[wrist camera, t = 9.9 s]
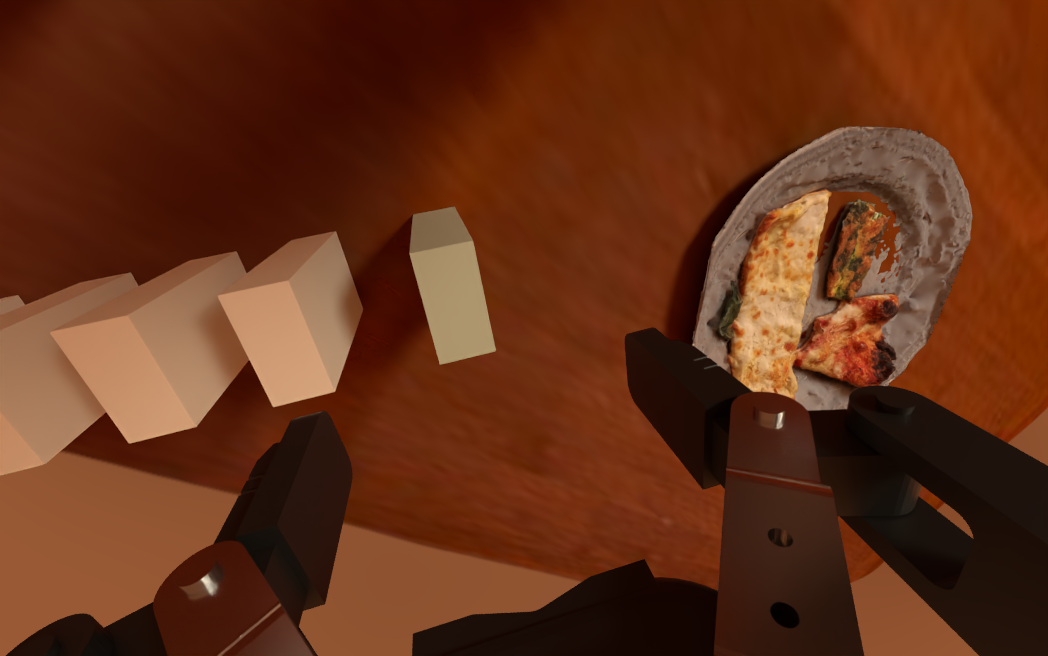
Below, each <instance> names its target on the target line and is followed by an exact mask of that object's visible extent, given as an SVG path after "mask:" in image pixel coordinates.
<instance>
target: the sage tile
mask: <svg viewBox="0 0 1048 656" xmlns="http://www.w3.org/2000/svg"><path fill="white" fill-rule="evenodd" d="M409 254H410V258H411V261H412V265H413V269H414V272H415V276H416V280H417V283H418V287H419V290H420V294H421V298H422V301H423V305H424V309H425V312H426V316H427V319H428V323H429V327H430V330H431V334H432V338H433V341H434V345H435V348H436V352H437V356H438V359H439V363H440V365H441V364H445V363H449V362H453V361H457V360H461V359H465V358H469V357H473V356H478V355H482V354H486V353H490V352H494V351H496V350H495V345H494V340H493V335H492V330H491V325H490V321H489V316H488V311H487V306H486V301H485V296H484V292H483V287H482V282H481V277H480V272H479V268H478V263H477V258H476V253H475V248H474V243H473V240H472V238H471V236H470V234H469V233H468V231H467V229H466V227H465V225H464V223H463V222H462V220H461V218H460V216H459V214H458V212H457V211H456V209H455V207H450V208H445V209H440V210H435V211H429V212H424V213H419V214H414V215H413V220H412V231H411V242H410V252H409Z"/></svg>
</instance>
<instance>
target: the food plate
mask: <svg viewBox="0 0 1048 656" xmlns="http://www.w3.org/2000/svg"><path fill="white" fill-rule="evenodd" d="M916 131H917V130H916ZM916 131H914V132H913V131H912V130H911V131H910V129H908V130H905V129H903V128H882V127H860V128H859V127H852V126H849V127H845V128H839V129H837V130H834V131H832V132H829V133H828V134H826V135H825V136H823V137H819V138H818V139H816V140H814V141H813V142H811V143H812V144H811V145H810V144H808V145H805V146H804V147H803V148H800V149H798V151H797V152H795V153H792V154H791V155H789V156H788V157H786V159H783V160H782V161H780V162H778V164H776V167H772V169H770V170H771V171H769V172H767V173H765V176H764V177H762V178H760V179H759V180H758V183H757V182H756V184H755V185H754V187H752V188H751V189H750V191H748V193H747V194H746V195H745V197H744V198H742V200H741V201H740V203H739V205H737V206H736V208H735V209H734V210H735V211H733V212H732V215H730V216H729V218H728V219H727V221H726V223H725V225H724V226H723V228H722V229H721V231H720V232H719V233H718V235H717V236H716V237H715V238H714V241H715V242H712V243H713V244H712V248H711V252H712V253H711V254H710V259H709V261H708V267H707V273H706V278H705V283H704V287H703V291H702V292H701V299H700V303H699V308H698V314H697V322H696V325H695V331H694V335H693V343H692V345H693V346H695V347H696V348H697V349H699V350H700V351H701V352H703V353H704V354H705V355H706V356H707V358H710V359H712V360H713V361H714V362H716V363H717V365H718V366H721V367H722V368H723V369H725V370H726V371H727V372H728V373H730V374H731V375H732V376H734V377H735V378H736V379H737V380H739V381H740V382H741V383H743V384H744V385H745V386H746V387H748V388H749V389H750V390H752V391H753V392H772V393H777V394H781V395H784V396H787V397H789V398H792V399H794V400H796V401H797V402H799V403H800V404H801V405H803V406H804V407H805V408H806V410H834V409H847V405H848V400H849V396H850V394H851V393H852V392H853V391H854V390H856V389H858V388H861V387H865V386H874V385H880V386H889V384H890V382H891V381H892V380H893V379H895V378H896V377H897V376H899V375H900V374H901V373H903V372H904V370H905V369H906V368H907V365H908V363H909V362H910V360H911V359H912V358H913V357H914V355H915V354H916V353H917V352H918V351H919V350H920V349H921V348H922V347H924V345H925V344H926V343H927V341H928V339H929V337H930V335H932V334H930V332H933V329H934V324H936V323H937V320H938V319H937V318H939V314H940V313H941V312H942V308H943V307H944V306H943V305H944V304H945V302H944V301H945V300H946V298H948V295H949V293H950V291H951V287H952V286H951V284H953V283H954V277H956V275H957V273H958V271H959V270H958V268H959V266H960V264H961V261H963V260H962V259H963V258H964V256H965V255H964V256H963V258H962V257H961V256H962V255H963V253H965V252H966V249H967V247H966V246H968V244H969V242H970V229H971V228H972V227H971V219H972V218H973V216H972V209H971V205H970V201H969V197H970V196H969V193H968V191H967V189H966V188H965V186H964V184H963V180H962V177H961V176H960V174H959V172H958V168H957V165H956V164H955V162H954V160H953V158H952V157H951V156H949V155H948V153H949V152H948V149H944V148H945V147H943V146H942V145H941V146H940V144H939V143H938V142H936V141H935V140H933V139H932V138H928V137H927V136H926V135H924V134H923V133H921V132H922V131H918V132H916ZM832 191H843V192H844V191H849V192H852V191H855V192H856V191H857V192H864V191H865V192H871V193H872V194H873V195H875V196H878V197H880V198H881V201H882V202H886V203H888V206H887V209H889V211H894V212H895V215H896V221H897V222H896V224H894V227H895V226H900V232H899V233H898V234H897V236H896V239H895V240H897V241H894V243H895V245H896V251H897V250H898V249H900V246H901V245H902V250H901V251H899V252H898V253H897V254H894V257H895V258H896V255H898V254H899V263H898V264H897V263H896V260H894V264H892V266H891V267H892V268H891V271H890V272H889V273H888V271H886V272H884V273H880V274H879V275H878V274H877V273H878V272H879V268H880V266H881V265H880V264H881V262H882V261H883V260H885V259H886V257H887V255H888V251H889V248H887V250H886V251H885V252H883V249H882V248H881V251H882V254H880V255H879V259H878V260H876V257H875V256H874V255H875V247H876V246H877V244H878V243H879V240H880V239H881V238H882V236H883V232H884V231H885V229H886V226H887V219H889V218H890V217H888V218H886V216H885V215H883V214H881V213H877V212H875V208H874V206H875V204H871V203H868V202H867V203H866V202H862V201H860V200H856V201H855V202H849V203H848V204H846V205H845V209H844V211H843V212H842V213H841V217H840V219H839V221H838V223H837V226H836V230H835V233H834V235H833V237H832V238H831V240H830V242H829V244H828V243H827V242H825V243H824V245H825V246H826V245H827V247H828V248H827V249H825V250H824V251H823V254H824V253H825V255H823V256H821V260H820V261H819V262H817V263H816V264H814V263H815V262H816V261H817V259H818V258H817V249H818V243H819V238H820V233H821V232H822V230H823V224H824V221H825V215H826V213H827V209H828V206H827V203H828V198H829V197H830V195H831V192H832ZM887 230H888V229H887ZM890 240H891V239H890ZM881 242H883V240H882V241H881ZM884 246H885V244H884ZM965 248H966V249H965ZM825 264H826V265H825ZM896 265H897V266H896ZM899 266H901V269H900V271H899V270H898V267H899ZM895 267H896V271H895V272H894V270H895ZM898 271H899V274H898V276H897V277H896V276H895V274H896V273H897V272H898ZM892 272H893V273H892ZM886 273H888V274H886ZM885 274H886V275H885ZM891 274H892V277H891V278H889V279H887V278H888V277H889V276H890V275H891ZM884 276H885V280H886V281H885V282H884V283H880V282H881V279H882V278H884ZM876 279H877V281H876ZM897 280H898V281H897ZM896 281H897V282H896ZM892 282H894V283H893V284H892ZM888 283H889V284H888ZM882 286H883V288H882ZM884 289H886V291H885V293H884ZM810 305H811V306H810ZM804 331H807V333H806V336H805V337H804V338H803V339H801V334H802V333H803V332H804Z"/></svg>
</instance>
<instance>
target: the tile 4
mask: <svg viewBox="0 0 1048 656" xmlns="http://www.w3.org/2000/svg"><path fill="white" fill-rule="evenodd" d="M217 296H218V298H219V300H220V302H221V304H222V306H223V308H224V310H225V312H226V314H227V316H228V318H229V320H230V322H231V324H232V326H233V328H234V330H235V332H236V334H237V336H238V338H239V340H240V342H241V344H242V346H243V348H244V350H245V352H246V354H247V356H248V358H249V360H250V362H251V364H252V366H253V368H254V370H255V372H256V374H257V376H258V378H259V380H260V382H261V384H262V386H263V388H264V390H265V392H266V394H267V396H268V398H269V400H270V402H271V404H272V406H273V407H276V406H280V405H284V404H288V403H292V402H296V401H300V400H304V399H308V398H312V397H316V396H320V395H324V394H328V393H332V392H335V390H336V387H337V385H338V382H339V379H340V376H341V373H342V370H343V367H344V364H345V361H346V358H347V355H348V353H349V350H350V347H351V344H352V341H353V338H354V335H355V332H356V329H357V326H358V323H359V320H360V318H361V315H362V312H363V307H362V304H361V301H360V298H359V295H358V293H357V290H356V287H355V284H354V281H353V278H352V276H351V273H350V270H349V267H348V264H347V261H346V258H345V256H344V253H343V250H342V247H341V244H340V241H339V239H338V236H337V233H336V231H334V232H329V233H324V234H319V235H314V236H309V237H304V238H299V239H294V240H291V241H290V242H288V243H287V244H286V245H284V246H283V247H281V248H280V249H279V250H277V251H276V252H275V253H273V254H272V255H271V256H269V257H268V258H267V259H265V260H264V261H263V262H261V263H260V264H259V265H257V266H256V267H255V268H253V269H252V270H251V271H249V272H248V273H247V274H245V275H244V276H243V277H241V278H240V279H239V280H237V281H236V282H235V283H233V284H232V285H231V286H229V287H228V288H227V289H225V290H224V291H223V292H221V293H220V294H218V295H217Z"/></svg>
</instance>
